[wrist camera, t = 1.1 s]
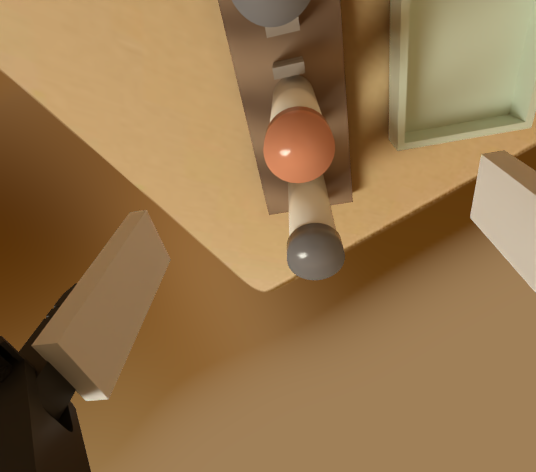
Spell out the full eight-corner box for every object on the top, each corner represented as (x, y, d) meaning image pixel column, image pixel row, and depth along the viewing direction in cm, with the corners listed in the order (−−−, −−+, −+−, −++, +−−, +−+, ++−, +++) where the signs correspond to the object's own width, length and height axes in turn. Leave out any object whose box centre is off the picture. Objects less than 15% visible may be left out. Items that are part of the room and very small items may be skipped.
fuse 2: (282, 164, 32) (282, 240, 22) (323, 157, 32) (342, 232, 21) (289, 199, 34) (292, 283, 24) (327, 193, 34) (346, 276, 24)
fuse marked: (266, 77, 28) (256, 122, 17) (313, 67, 27) (331, 107, 17) (275, 124, 30) (270, 188, 20) (318, 115, 29) (337, 177, 19)
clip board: (207, -59, 24) (193, -70, 20) (331, -95, 22) (340, -114, 19) (269, 207, 37) (268, 230, 33) (350, 195, 36) (358, 217, 32)
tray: (390, -45, 24) (402, -51, 21) (556, -89, 22) (590, -100, 20) (388, 139, 32) (397, 151, 29) (511, 117, 30) (531, 127, 28)
